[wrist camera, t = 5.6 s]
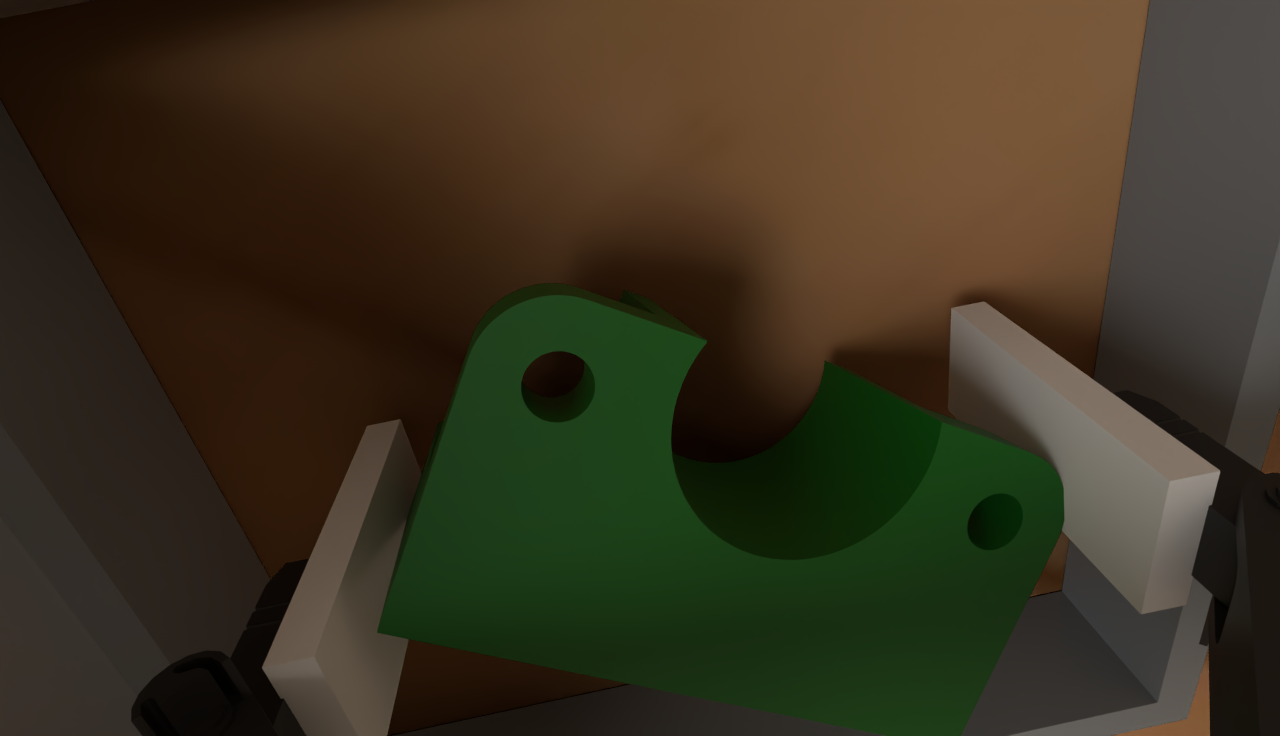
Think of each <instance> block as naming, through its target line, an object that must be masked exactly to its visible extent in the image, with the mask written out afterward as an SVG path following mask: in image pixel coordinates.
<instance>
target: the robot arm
mask: <svg viewBox="0 0 1280 736" xmlns="http://www.w3.org/2000/svg"><path fill="white" fill-rule="evenodd" d="M948 411H949V412H950V413H951V414H952V415H953V416H954V417H955V418H956V419H957V420H959V421H962V422H965V423H968V424H971V425H974V426H976V427H979V428H982V429H984V430H987V431H989V432H991V433H993V434H995V435H997V436H999V437H1001V438H1003V439H1005V440H1007V441H1009V442H1011V443H1013V444H1015V445H1017V446H1019V447H1021V448H1023V449H1025V450H1027V451H1029V452H1031V453H1033V454H1035V455H1037V456H1039V457H1041V458H1042V459H1044V460H1045V461H1046V462H1048V463H1049V464H1050V465H1051V466H1052V467H1053V468H1054V470H1055V471H1056V472H1057V474H1058V476H1059V477H1060V479H1061V482H1062V484H1063V488H1064V518H1065V520H1064V524H1063V528H1062V531H1063V532H1064V534H1065V535H1066V536H1067V537H1068V538H1069V539H1070V540H1071V541H1072V542H1073V543H1074V544H1075V545H1076V546H1077V547H1078V548H1079V549H1080V550H1081V552H1082V553H1083V554H1084V555H1085V556H1086V557H1087V558H1088V559H1089V560H1090V561H1091V562H1092V563H1093V564H1094V565H1095V566H1096V567H1097V569H1098V570H1099V571H1100V572H1101V573H1102V574H1103V575H1104V576H1105V577H1106V578H1107V579H1108V580H1109V581H1110V582H1111V583H1112V584H1113V585H1114V587H1115V588H1116V589H1117V590H1118V591H1119V592H1120V593H1121V594H1122V595H1123V596H1124V597H1125V598H1126V599H1127V600H1128V601H1129V602H1130V603H1131V605H1132V606H1133V607H1134V608H1135V609H1136V610H1137V611H1138V612H1139V613H1140V614H1146V613H1150V612H1155V611H1160V610H1165V609H1170V608H1174V607H1179V606H1184V605H1186V603H1187V600H1188V596H1189V592H1190V588H1191V584H1192V580H1193V577H1194V578H1195V579H1196V580H1197V581H1198V582H1199V583H1200V584H1202V585H1203V586H1204V587H1205V588H1206V589H1207V590H1208V591H1209V592H1210V593H1211V594H1212V599H1211V602H1210V606H1209V610H1208V613H1207V617H1206V620H1205V624H1204V628H1203V631H1202V635H1201V638H1200V642H1199V644H1200V645H1204V646H1208V644H1209V691H1210V736H1280V473H1269V474H1264V473H1263V472H1261V471H1260V470H1258V469H1257V468H1255V467H1254V466H1252V465H1251V464H1249V463H1248V462H1246V461H1245V460H1243V459H1242V458H1240V457H1239V456H1238V455H1236V454H1235V453H1233V452H1232V451H1230V450H1229V449H1227V448H1226V447H1224V446H1223V445H1221V444H1220V443H1218V442H1217V441H1215V440H1214V439H1212V438H1211V437H1209V436H1208V435H1206V434H1205V433H1203V432H1201V433H1200V432H1199V431H1198V428H1196V427H1195V426H1193V425H1192V424H1190V423H1189V422H1187V421H1186V420H1181V419H1180V416H1178V415H1177V414H1175V413H1174V412H1172V411H1171V410H1169V409H1168V408H1167V407H1165V406H1164V405H1162V404H1161V403H1159V402H1158V401H1155V400H1153V399H1150V398H1147V397H1144V396H1142V395H1139V394H1136V393H1134V392H1131V391H1128V390H1125V391H1120V392H1115V393H1111V392H1110V391H1108V390H1107V389H1106V388H1104V387H1103V386H1101V385H1100V384H1099V383H1097V382H1096V381H1094V380H1093V379H1092V378H1090V377H1089V376H1088V375H1086V374H1085V373H1083V372H1082V371H1081V370H1079V369H1078V368H1076V367H1075V366H1074V365H1072V364H1071V363H1069V362H1068V361H1067V360H1065V359H1064V358H1062V357H1061V356H1060V355H1058V354H1057V353H1055V352H1054V351H1053V350H1051V349H1050V348H1048V347H1047V346H1046V345H1044V344H1043V343H1041V342H1040V341H1039V340H1037V339H1036V338H1034V337H1033V336H1032V335H1030V334H1029V333H1028V332H1026V331H1025V330H1023V329H1022V328H1021V327H1019V326H1018V325H1016V324H1015V323H1014V322H1012V321H1011V320H1009V319H1008V318H1007V317H1005V316H1004V315H1002V314H1001V313H1000V312H998V311H997V310H995V309H994V308H993V307H991V306H990V305H988V304H987V303H986V302H979V303H974V304H969V305H964V306H959V307H954V308H951V332H950V360H949V388H948ZM421 475H422V473H421V471H420V468H419V465H418V463H417V460H416V458H415V455H414V452H413V450H412V447H411V445H410V442H409V440H408V437H407V434H406V432H405V429H404V427H403V424H402V421H401V419H398V420H393V421H388V422H383V423H378V424H374V425H369V426H367V427H366V429H365V432H364V434H363V436H362V439H361V441H360V443H359V446H358V448H357V450H356V452H355V455H354V457H353V459H352V462H351V464H350V466H349V469H348V471H347V473H346V475H345V478H344V480H343V482H342V485H341V487H340V489H339V492H338V494H337V496H336V498H335V501H334V503H333V505H332V508H331V510H330V512H329V515H328V517H327V519H326V521H325V524H324V526H323V528H322V531H321V533H320V535H319V538H318V540H317V542H316V544H315V547H314V549H313V551H312V554H311V556H310V558H309V559H304V560H299V561H295V562H290V563H286V564H285V565H284V566H283V567H282V568H281V569H280V570H279V572H278V573H277V574H276V575H275V576H274V577H273V578H272V579H271V580H270V581H269V582H268V583H267V584H266V586H265V588H264V590H263V592H262V594H261V596H260V598H259V600H258V602H257V604H256V606H255V612H253V613H252V615H251V617H250V619H249V621H248V623H247V625H246V627H247V629H246V630H244V631H243V633H242V635H241V637H240V639H239V641H238V643H237V645H236V647H235V649H234V651H233V653H232V656H231V658H229V657H228V656H227V655H225V654H224V653H223V652H221V651H210V650H206V651H202V652H198V653H195V654H191V655H188V656H186V657H184V658H182V659H180V660H178V661H176V662H174V663H172V664H171V665H169V666H168V667H167V668H165V669H164V670H163V671H161V672H160V673H159V674H157V675H156V676H155V677H153V678H152V679H151V680H150V682H149V683H148V684H147V685H146V686H145V687H144V688H143V689H142V691H141V692H140V693H139V694H138V696H137V698H136V700H135V702H134V704H133V706H132V708H131V722H132V723H133V724H134V726H135V727H136V728H137V730H138V731H139V732H140V733H141V735H142V736H387V734H388V729H389V725H390V720H391V716H392V711H393V707H394V703H395V698H396V694H397V689H398V685H399V680H400V676H401V672H402V667H403V663H404V658H405V654H406V650H407V645H408V641H409V639H406V638H401V637H396V636H391V635H386V634H381V633H377V630H378V626H379V622H380V619H381V615H382V611H383V607H384V603H385V600H386V596H387V592H388V588H389V585H390V581H391V577H392V573H393V570H394V566H395V562H396V558H397V555H398V551H399V547H400V543H401V540H402V536H403V532H404V528H405V524H406V521H407V517H408V514H409V511H410V508H411V505H412V502H413V499H414V496H415V493H416V490H417V487H418V484H419V481H420V478H421Z"/></svg>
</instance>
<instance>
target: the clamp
mask: <svg viewBox="0 0 1280 736" xmlns="http://www.w3.org/2000/svg"><path fill="white" fill-rule="evenodd" d="M707 342H708V341H707V340H705V339H704V338H703V337H701V336H700V335H698V334H697V333H696V332H694V331H693V330H692V329H690V328H689V327H687V326H686V325H685V324H683V323H682V322H680V321H679V320H678V319H676V318H675V317H674V316H672V315H671V314H669V313H668V312H667V311H665V310H664V309H662V308H661V307H660V306H658V305H657V304H656V303H654V302H653V301H651V300H650V299H649V298H647V297H644V296H641V295H638V294H635V293H632V292H630V291H627V290H624V291H623V293H622V296H621V299H620V302H618V301H615V300H612V299H609V298H607V297H604V296H601V295H598V294H595V293H592V292H589V291H587V290H584V289H581V288H578V287H574V286H571V285H565V284H557V283H544V284H537V285H532V286H528V287H525V288H522V289H519V290H517V291H515V292H512V293H510V294H509V295H507V296H505V297H504V298H502V299H501V300H500V301H498V302H497V303H496V304H495V305H493V306H492V307H491V308H490V309H489V310H488V312H487V313H486V314H485V315H484V316H483V318H482V319H481V321H480V322H479V324H478V325H477V327H476V329H475V331H474V333H473V336H472V338H471V341H470V344H469V347H468V350H467V353H466V356H465V359H464V362H463V365H462V368H461V371H460V374H459V377H458V380H457V383H456V386H455V389H454V392H453V395H452V398H451V401H450V404H449V407H448V410H447V413H446V416H445V419H444V420H443V421H441V422H440V423H439V424H438V426H437V429H436V432H435V435H434V438H433V441H432V444H431V447H430V450H429V453H428V456H427V459H426V462H425V466H424V469H423V472H422V475H421V478H420V481H419V484H418V487H417V490H416V493H415V496H414V499H413V502H412V505H411V508H410V511H409V514H408V517H407V521H406V524H405V528H404V532H403V536H402V540H401V543H400V547H399V551H398V555H397V558H396V562H395V566H394V570H393V573H392V577H391V581H390V585H389V588H388V592H387V596H386V600H385V603H384V607H383V611H382V615H381V619H380V622H379V626H378V630H377V633H381V634H386V635H391V636H396V637H401V638H406V639H410V640H415V641H420V642H425V643H430V644H435V645H440V646H445V647H450V648H455V649H460V650H465V651H470V652H475V653H480V654H485V655H489V656H494V657H499V658H504V659H509V660H514V661H519V662H524V663H529V664H534V665H539V666H544V667H549V668H554V669H559V670H564V671H568V672H573V673H578V674H583V675H588V676H593V677H598V678H603V679H608V680H613V681H618V682H623V683H628V684H633V685H638V686H643V687H648V688H652V689H657V690H662V691H667V692H672V693H677V694H682V695H687V696H692V697H697V698H702V699H707V700H712V701H717V702H722V703H727V704H731V705H736V706H741V707H746V708H751V709H756V710H761V711H766V712H771V713H776V714H781V715H786V716H791V717H796V718H801V719H806V720H810V721H815V722H820V723H825V724H830V725H835V726H840V727H845V728H850V729H855V730H860V731H865V732H870V733H875V734H880V735H885V736H961V734H962V732H963V730H964V728H965V726H966V724H967V722H968V720H969V718H970V716H971V714H972V712H973V710H974V708H975V706H976V704H977V702H978V700H979V698H980V696H981V694H982V692H983V690H984V688H985V686H986V684H987V682H988V680H989V678H990V676H991V674H992V672H993V670H994V668H995V666H996V664H997V662H998V660H999V658H1000V656H1001V654H1002V652H1003V649H1004V647H1005V645H1006V643H1007V641H1008V639H1009V637H1010V635H1011V633H1012V631H1013V629H1014V627H1015V625H1016V623H1017V621H1018V619H1019V617H1020V615H1021V613H1022V611H1023V609H1024V607H1025V605H1026V603H1027V601H1028V599H1029V597H1030V595H1031V593H1032V591H1033V589H1034V587H1035V585H1036V583H1037V581H1038V579H1039V577H1040V575H1041V573H1042V571H1043V569H1044V567H1045V565H1046V563H1047V561H1048V559H1049V557H1050V555H1051V553H1052V551H1053V549H1054V547H1055V545H1056V543H1057V541H1058V538H1059V536H1060V534H1061V531H1062V528H1063V524H1064V520H1065V518H1064V488H1063V484H1062V482H1061V479H1060V477H1059V476H1058V474H1057V472H1056V471H1055V470H1054V468H1053V467H1052V466H1051V465H1050V464H1049V463H1048V462H1046V461H1045V460H1044V459H1042V458H1041V457H1039V456H1037V455H1035V454H1033V453H1031V452H1029V451H1027V450H1025V449H1023V448H1021V447H1019V446H1017V445H1015V444H1013V443H1011V442H1009V441H1007V440H1005V439H1003V438H1001V437H999V436H997V435H995V434H993V433H991V432H989V431H987V430H984V429H982V428H979V427H976V426H974V425H971V424H968V423H965V422H962V421H959V420H956V419H953V418H951V417H948V416H945V415H942V414H939V413H936V412H933V411H931V410H928V409H925V408H922V407H920V406H918V405H916V404H914V403H912V402H911V401H909V400H907V399H905V398H903V397H901V396H899V395H897V394H895V393H893V392H891V391H889V390H887V389H885V388H883V387H881V386H879V385H878V384H876V383H874V382H872V381H870V380H868V379H866V378H864V377H862V376H860V375H858V374H856V373H854V372H852V371H850V370H848V369H846V368H844V367H841V366H838V365H836V364H833V363H830V362H827V361H825V363H824V371H823V375H822V380H821V383H820V386H819V389H818V392H817V394H816V397H815V399H814V401H813V403H812V405H811V406H810V408H809V410H808V412H807V413H806V414H805V416H804V417H803V419H802V420H801V421H800V422H799V424H798V425H797V426H796V427H795V428H794V429H793V430H792V431H791V432H790V433H789V434H788V435H787V436H786V437H784V438H783V439H782V440H781V441H779V442H778V443H777V444H775V445H774V446H772V447H771V448H769V449H767V450H765V451H763V452H761V453H759V454H757V455H754V456H752V457H749V458H745V459H742V460H738V461H733V462H724V463H707V462H700V461H695V460H691V459H687V458H684V457H682V456H679V455H677V454H675V453H673V452H672V447H671V430H672V421H673V414H674V409H675V405H676V401H677V397H678V394H679V392H680V389H681V386H682V383H683V381H684V379H685V377H686V375H687V372H688V370H689V368H690V367H691V365H692V363H693V362H694V360H695V358H696V357H697V355H698V354H699V352H700V351H701V350H702V348H703V347H704V346H705V344H706V343H707ZM554 351H564V352H569V353H572V354H575V355H577V356H578V357H580V358H581V359H583V360H584V372H583V376H582V378H581V380H580V382H579V383H578V384H577V386H576V387H575V388H574V389H573V390H571V391H570V392H568V393H567V394H564V395H562V396H558V397H543V396H540V395H537V394H535V393H533V392H532V391H530V390H529V389H528V388H527V387H526V386H525V385H524V383H523V382H522V378H523V375H524V372H525V371H526V369H527V367H528V366H529V365H530V364H531V363H532V362H533V361H534V360H535V359H536V358H538V357H539V356H541V355H543V354H546V353H549V352H554Z"/></svg>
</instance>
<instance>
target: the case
mask: <svg viewBox="0 0 1280 736" xmlns="http://www.w3.org/2000/svg"><path fill="white" fill-rule="evenodd" d="M88 1H93V0H0V18H5V17H10V16H15V15H20V14H26V13H31V12H36V11H41V10H46V9H52V8H57V7H62V6H67V5H72V4H78V3H83V2H88ZM1093 380H1094V381H1096V382H1097V383H1099V384H1100V385H1101V386H1103V387H1104V388H1106V389H1107V390H1108V391H1110V392H1111V393H1115V392H1120V391H1125V390H1128V391H1131V392H1134V393H1136V394H1139V395H1142V396H1144V397H1147V398H1150V399H1153V400H1155V401H1158V402H1159V403H1161V404H1162V405H1164V406H1165V407H1167V408H1168V409H1169V410H1171V411H1172V412H1174V413H1175V414H1177V415H1178V416H1180V419H1181V420H1186V421H1187V422H1189V423H1190V424H1192V425H1193V426H1195V427H1196V428H1198V431H1199V432H1200V433H1201V432H1203V433H1205V434H1206V435H1208V436H1209V437H1211V438H1212V439H1214V440H1215V441H1217V442H1218V443H1220V444H1221V445H1223V446H1224V447H1226V448H1227V449H1229V450H1230V451H1232V452H1233V453H1235V454H1236V455H1238V456H1239V457H1240V458H1242V459H1243V460H1245V461H1246V462H1248V463H1249V464H1251V465H1252V466H1254V467H1255V468H1257V469H1258V470H1260V471H1261V469H1262V466H1263V463H1264V459H1265V456H1266V453H1267V449H1268V446H1269V442H1270V439H1271V436H1272V432H1273V429H1274V426H1275V422H1276V419H1277V416H1278V412H1279V409H1280V0H1150V4H1149V11H1148V17H1147V24H1146V31H1145V38H1144V44H1143V51H1142V58H1141V64H1140V71H1139V78H1138V84H1137V91H1136V98H1135V104H1134V111H1133V118H1132V125H1131V131H1130V138H1129V145H1128V151H1127V158H1126V165H1125V171H1124V178H1123V185H1122V192H1121V198H1120V205H1119V212H1118V218H1117V225H1116V232H1115V238H1114V245H1113V252H1112V258H1111V265H1110V272H1109V279H1108V285H1107V292H1106V299H1105V305H1104V312H1103V319H1102V325H1101V332H1100V339H1099V345H1098V352H1097V359H1096V366H1095V372H1094V379H1093ZM269 581H270V578H269V576H268V574H267V572H266V571H265V569H264V567H263V565H262V564H261V562H260V560H259V558H258V557H257V555H256V553H255V551H254V549H253V548H252V546H251V544H250V542H249V541H248V539H247V537H246V535H245V533H244V532H243V530H242V528H241V526H240V525H239V523H238V521H237V519H236V517H235V516H234V514H233V512H232V510H231V509H230V507H229V505H228V503H227V502H226V500H225V498H224V496H223V494H222V493H221V491H220V489H219V487H218V486H217V484H216V482H215V480H214V478H213V477H212V475H211V473H210V471H209V470H208V468H207V466H206V464H205V462H204V461H203V459H202V457H201V455H200V454H199V452H198V450H197V448H196V447H195V445H194V443H193V441H192V439H191V438H190V436H189V434H188V432H187V431H186V429H185V427H184V425H183V423H182V422H181V420H180V418H179V416H178V415H177V413H176V411H175V409H174V407H173V406H172V404H171V402H170V400H169V399H168V397H167V395H166V393H165V392H164V390H163V388H162V386H161V384H160V383H159V381H158V379H157V377H156V376H155V374H154V372H153V370H152V368H151V367H150V365H149V363H148V361H147V360H146V358H145V356H144V354H143V352H142V351H141V349H140V347H139V345H138V344H137V342H136V340H135V338H134V337H133V335H132V333H131V331H130V329H129V328H128V326H127V324H126V322H125V321H124V319H123V317H122V315H121V313H120V312H119V310H118V308H117V306H116V305H115V303H114V301H113V299H112V297H111V296H110V294H109V292H108V290H107V289H106V287H105V285H104V283H103V282H102V280H101V278H100V276H99V274H98V273H97V271H96V269H95V267H94V266H93V264H92V262H91V260H90V258H89V257H88V255H87V253H86V251H85V250H84V248H83V246H82V244H81V242H80V241H79V239H78V237H77V235H76V234H75V232H74V230H73V228H72V227H71V225H70V223H69V221H68V219H67V218H66V216H65V214H64V212H63V211H62V209H61V207H60V205H59V203H58V202H57V200H56V198H55V196H54V195H53V193H52V191H51V189H50V187H49V186H48V184H47V182H46V180H45V179H44V177H43V175H42V173H41V172H40V170H39V168H38V166H37V164H36V163H35V161H34V159H33V157H32V156H31V154H30V152H29V150H28V148H27V147H26V145H25V143H24V141H23V140H22V138H21V136H20V134H19V132H18V131H17V129H16V127H15V125H14V124H13V122H12V120H11V118H10V117H9V115H8V113H7V111H6V109H5V108H4V106H3V104H2V102H1V101H0V736H142V735H141V733H140V732H139V731H138V730H137V728H136V727H135V726H134V724H133V723H132V722H131V708H132V706H133V704H134V702H135V700H136V698H137V696H138V694H139V693H140V692H141V691H142V689H143V688H144V687H145V686H146V685H147V684H148V683H149V682H150V680H151V679H152V678H153V677H155V676H156V675H157V674H159V673H160V672H161V671H163V670H164V669H165V668H167V667H168V666H169V665H171V664H172V663H174V662H176V661H178V660H180V659H182V658H184V657H186V656H188V655H191V654H195V653H198V652H202V651H206V650H210V651H221V652H223V653H224V654H225V655H227V656H228V657H229V658H231V656H232V653H233V651H234V649H235V647H236V645H237V643H238V641H239V639H240V637H241V635H242V633H243V631H244V630H246V629H247V627H246V625H247V623H248V621H249V619H250V617H251V615H252V613H253V612H255V606H256V604H257V602H258V600H259V598H260V596H261V594H262V592H263V590H264V588H265V586H266V584H267V583H268V582H269ZM1211 599H1212V594H1211V593H1210V592H1209V591H1208V590H1207V589H1206V588H1205V587H1204V586H1203V585H1202V584H1200V583H1199V582H1198V581H1197V580H1196V579H1195V578H1194V577H1193V580H1192V584H1191V588H1190V592H1189V596H1188V600H1187V603H1186V605H1184V606H1179V607H1174V608H1170V609H1165V610H1160V611H1155V612H1150V613H1146V614H1140V613H1139V612H1138V611H1137V610H1136V609H1135V608H1134V607H1133V606H1132V605H1131V603H1130V602H1129V601H1128V600H1127V599H1126V598H1125V597H1124V596H1123V595H1122V594H1121V593H1120V592H1119V591H1118V590H1117V589H1116V588H1115V587H1114V585H1113V584H1112V583H1111V582H1110V581H1109V580H1108V579H1107V578H1106V577H1105V576H1104V575H1103V574H1102V573H1101V572H1100V571H1099V570H1098V569H1097V567H1096V566H1095V565H1094V564H1093V563H1092V562H1091V561H1090V560H1089V559H1088V558H1087V557H1086V556H1085V555H1084V554H1083V553H1082V552H1081V550H1080V549H1079V548H1078V547H1077V546H1076V545H1075V544H1074V543H1073V542H1072V541H1071V540H1069V546H1068V553H1067V560H1066V566H1065V573H1064V580H1063V586H1062V591H1060V592H1055V593H1050V594H1046V595H1041V596H1036V597H1032V598H1029V599H1028V601H1027V603H1026V605H1025V607H1024V609H1023V611H1022V613H1021V615H1020V617H1019V619H1018V621H1017V623H1016V625H1015V627H1014V629H1013V631H1012V633H1011V635H1010V637H1009V639H1008V641H1007V643H1006V645H1005V647H1004V649H1003V652H1002V654H1001V656H1000V658H999V660H998V662H997V664H996V666H995V668H994V670H993V672H992V674H991V676H990V678H989V680H988V682H987V684H986V686H985V688H984V690H983V692H982V694H981V696H980V698H979V700H978V702H977V704H976V706H975V708H974V710H973V712H972V714H971V716H970V718H969V720H968V722H967V724H966V726H965V728H964V730H963V732H962V734H961V736H1112V735H1116V734H1121V733H1125V732H1130V731H1134V730H1139V729H1143V728H1148V727H1152V726H1157V725H1161V724H1166V723H1170V722H1175V721H1179V720H1184V719H1187V718H1188V714H1189V711H1190V708H1191V704H1192V701H1193V698H1194V694H1195V691H1196V688H1197V684H1198V681H1199V677H1200V674H1201V671H1202V667H1203V664H1204V661H1205V657H1206V654H1207V651H1208V647H1209V644H1208V646H1204V645H1200V644H1199V642H1200V638H1201V635H1202V631H1203V628H1204V624H1205V620H1206V617H1207V613H1208V610H1209V606H1210V602H1211ZM394 736H885V735H880V734H875V733H870V732H865V731H860V730H855V729H850V728H845V727H840V726H835V725H830V724H825V723H820V722H815V721H810V720H806V719H801V718H796V717H791V716H786V715H781V714H776V713H771V712H766V711H761V710H756V709H751V708H746V707H741V706H736V705H731V704H727V703H722V702H717V701H712V700H707V699H702V698H697V697H692V696H687V695H682V694H677V693H672V692H667V691H662V690H657V689H652V688H648V687H643V686H638V685H633V684H630V685H625V686H620V687H616V688H611V689H607V690H602V691H597V692H593V693H588V694H583V695H579V696H574V697H570V698H565V699H560V700H556V701H551V702H547V703H542V704H537V705H533V706H528V707H523V708H519V709H514V710H510V711H505V712H500V713H496V714H491V715H486V716H482V717H477V718H473V719H468V720H463V721H459V722H454V723H449V724H445V725H440V726H436V727H431V728H426V729H422V730H417V731H412V732H408V733H403V734H399V735H394Z"/></svg>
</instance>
